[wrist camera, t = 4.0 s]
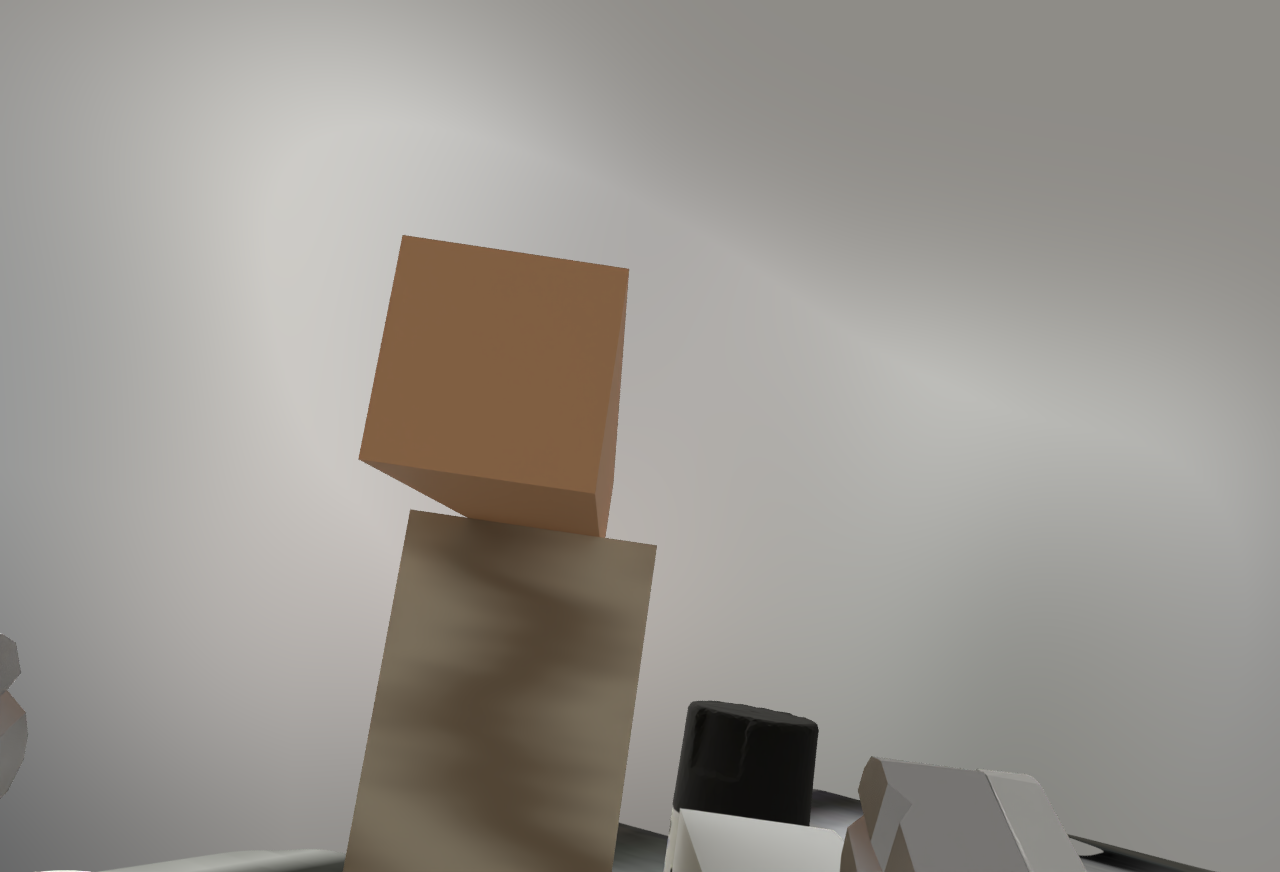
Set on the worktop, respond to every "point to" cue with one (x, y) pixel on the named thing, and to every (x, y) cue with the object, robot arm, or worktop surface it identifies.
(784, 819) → the spray can
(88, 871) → the supplement bottle
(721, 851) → the base
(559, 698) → the beige rectangular block
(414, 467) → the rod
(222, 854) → the worktop surface
